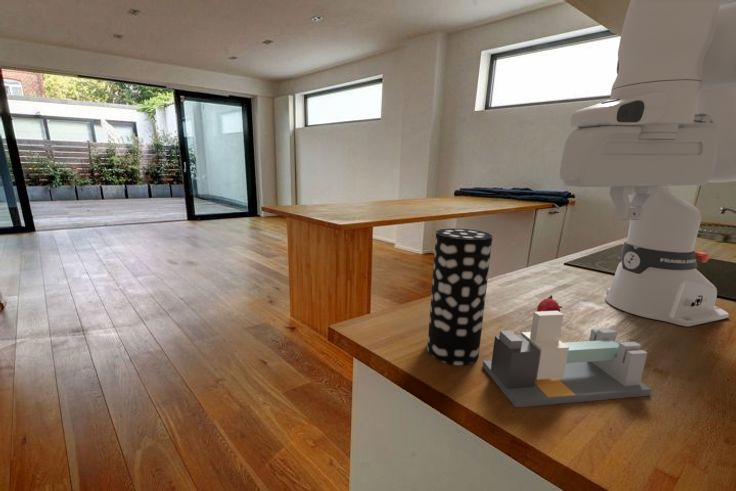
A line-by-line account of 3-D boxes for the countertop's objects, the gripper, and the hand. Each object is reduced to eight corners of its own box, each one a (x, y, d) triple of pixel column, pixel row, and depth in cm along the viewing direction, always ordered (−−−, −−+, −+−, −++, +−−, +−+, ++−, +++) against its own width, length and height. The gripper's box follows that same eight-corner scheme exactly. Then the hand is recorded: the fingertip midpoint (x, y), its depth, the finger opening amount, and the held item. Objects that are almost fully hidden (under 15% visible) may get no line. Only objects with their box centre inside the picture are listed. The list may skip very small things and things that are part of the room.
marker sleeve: (541, 358, 51) (550, 305, 49) (563, 377, 46) (574, 320, 44) (517, 360, 50) (525, 306, 48) (536, 379, 46) (546, 321, 44)
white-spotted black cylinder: (424, 337, 60) (432, 227, 56) (471, 339, 60) (483, 229, 55) (431, 364, 52) (441, 238, 48) (485, 366, 52) (500, 240, 47)
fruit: (528, 320, 68) (531, 297, 67) (541, 313, 72) (545, 291, 71) (550, 328, 65) (554, 304, 64) (562, 320, 69) (566, 297, 68)
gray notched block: (599, 356, 54) (605, 325, 52) (639, 384, 47) (648, 349, 46) (585, 357, 53) (592, 326, 52) (624, 386, 47) (632, 350, 45)
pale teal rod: (608, 351, 51) (611, 339, 50) (620, 359, 49) (622, 346, 48) (509, 358, 48) (511, 345, 48) (517, 366, 46) (519, 353, 46)
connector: (515, 367, 50) (521, 326, 49) (534, 386, 46) (541, 342, 44) (490, 369, 50) (495, 328, 48) (506, 389, 45) (513, 344, 44)
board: (597, 358, 55) (598, 352, 55) (649, 395, 46) (651, 388, 46) (482, 366, 52) (483, 360, 52) (515, 407, 43) (516, 400, 43)
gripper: (692, 116, 47) (669, 213, 51) (560, 113, 45) (545, 217, 48) (747, 110, 41) (716, 221, 45) (598, 107, 39) (578, 226, 42)
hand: (627, 219), depth 47 cm, fingers closed
